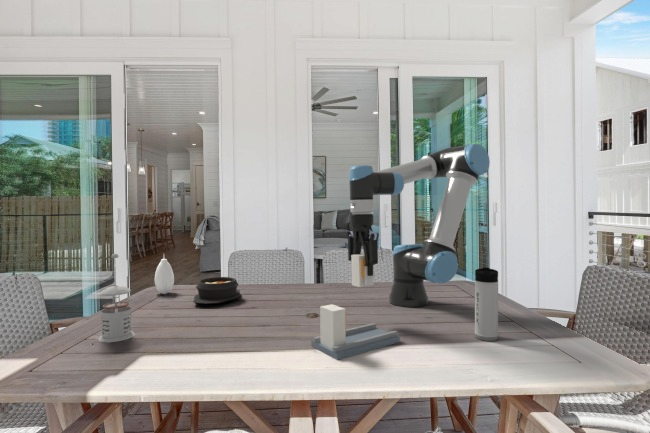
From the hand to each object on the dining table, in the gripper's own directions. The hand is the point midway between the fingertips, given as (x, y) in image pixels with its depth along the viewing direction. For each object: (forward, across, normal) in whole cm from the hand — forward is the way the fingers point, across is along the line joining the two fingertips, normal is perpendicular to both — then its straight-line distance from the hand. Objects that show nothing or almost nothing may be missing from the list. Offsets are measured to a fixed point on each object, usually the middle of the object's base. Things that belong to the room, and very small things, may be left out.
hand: (363, 284), depth 130 cm
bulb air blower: (+12, -85, -44) cm, 96 cm away
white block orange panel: (0, 0, 0) cm, 0 cm away
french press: (+12, -34, -68) cm, 77 cm away
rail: (+13, +14, -14) cm, 24 cm away
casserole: (+13, -59, -28) cm, 67 cm away
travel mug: (+13, +32, +20) cm, 40 cm away
